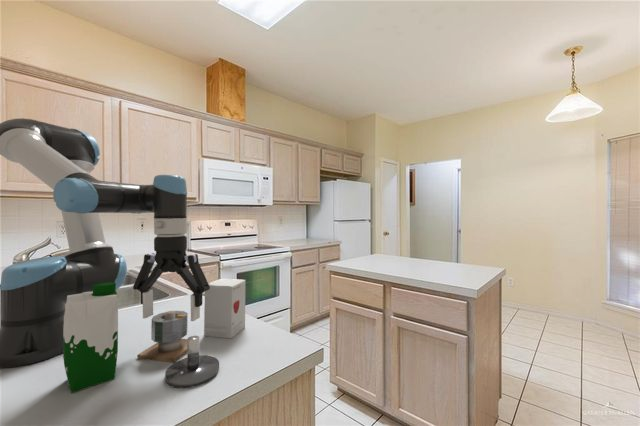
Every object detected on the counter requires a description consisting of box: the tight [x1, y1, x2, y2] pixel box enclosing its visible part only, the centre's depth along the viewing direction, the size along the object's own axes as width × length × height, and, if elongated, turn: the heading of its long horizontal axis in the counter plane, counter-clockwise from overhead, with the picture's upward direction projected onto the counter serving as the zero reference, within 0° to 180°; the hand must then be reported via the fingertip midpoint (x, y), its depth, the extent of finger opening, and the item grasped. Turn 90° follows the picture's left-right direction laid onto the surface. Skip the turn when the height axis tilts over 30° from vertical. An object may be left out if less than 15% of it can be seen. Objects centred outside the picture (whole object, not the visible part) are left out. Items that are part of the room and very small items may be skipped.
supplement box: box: [203, 278, 247, 339], centre depth 86 cm, size 9×9×15 cm
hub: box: [164, 335, 220, 389], centre depth 64 cm, size 11×11×8 cm
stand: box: [136, 310, 188, 364], centre depth 73 cm, size 10×10×10 cm
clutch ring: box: [150, 310, 189, 343], centre depth 73 cm, size 8×8×5 cm
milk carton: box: [62, 282, 119, 394], centre depth 61 cm, size 9×9×20 cm
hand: (171, 318), depth 73 cm, fingers open, 13 cm apart
